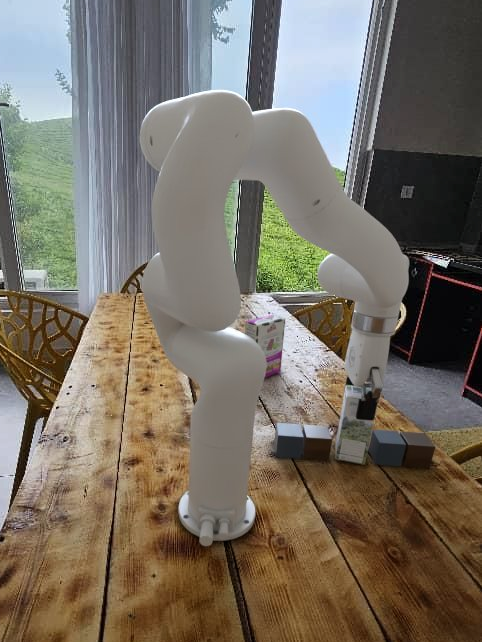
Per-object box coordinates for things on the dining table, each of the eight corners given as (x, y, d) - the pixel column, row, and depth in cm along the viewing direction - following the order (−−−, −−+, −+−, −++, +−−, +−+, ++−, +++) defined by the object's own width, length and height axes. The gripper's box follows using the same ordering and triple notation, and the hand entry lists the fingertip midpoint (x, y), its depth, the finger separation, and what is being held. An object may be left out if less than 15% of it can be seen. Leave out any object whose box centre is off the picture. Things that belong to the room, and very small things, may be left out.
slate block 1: (300, 458, 88) (303, 437, 86) (275, 456, 89) (278, 435, 87) (297, 444, 93) (300, 424, 91) (273, 443, 93) (276, 422, 91)
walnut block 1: (328, 460, 88) (332, 439, 86) (303, 459, 88) (306, 437, 86) (324, 446, 93) (327, 426, 91) (300, 445, 93) (303, 424, 91)
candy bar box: (267, 367, 131) (273, 313, 125) (280, 372, 128) (286, 318, 122) (240, 376, 125) (245, 320, 119) (253, 382, 121) (258, 325, 115)
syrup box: (363, 450, 92) (376, 387, 87) (365, 466, 87) (378, 400, 81) (334, 445, 93) (345, 382, 88) (334, 460, 88) (346, 395, 83)
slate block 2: (401, 466, 87) (406, 444, 85) (375, 464, 87) (379, 442, 86) (392, 451, 92) (397, 431, 90) (368, 450, 92) (372, 429, 90)
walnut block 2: (429, 468, 87) (435, 446, 85) (403, 466, 87) (408, 444, 85) (420, 454, 91) (425, 433, 90) (395, 452, 92) (400, 431, 90)
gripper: (342, 308, 88) (329, 386, 94) (365, 336, 72) (348, 428, 78) (381, 310, 87) (365, 388, 94) (413, 339, 71) (392, 431, 78)
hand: (357, 406), depth 86 cm, fingers open, 9 cm apart
